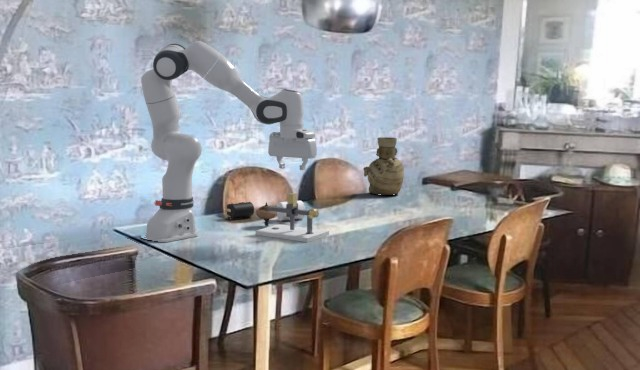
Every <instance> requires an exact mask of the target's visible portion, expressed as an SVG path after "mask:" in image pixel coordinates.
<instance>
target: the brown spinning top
mask: <svg viewBox="0 0 640 370" xmlns="http://www.w3.org/2000/svg"><path fill="white" fill-rule="evenodd" d="M269 206H270V205H268V202H265V205H262V206H261V207H259V208H257V209H255V210H256V211H255V214H256V216H257V217H258V218H259V219H262V220H264V226H265V227H270V226H269V225H270V224H269V221H270V220H271V219H274V218H275V217H276V216H277V212H275V211H268V207H269Z"/></svg>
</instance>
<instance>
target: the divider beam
mask: <svg viewBox="0 0 640 370" xmlns="http://www.w3.org/2000/svg"><path fill="white" fill-rule="evenodd" d="M268 206H269V207H268V211H275V212H276V213H277V212H283V213H286V208H283V207H277V206H274V205H268ZM293 214H299V215H304V216H306V228H307V233H312V229H313V219H316V218H318V217H319V215H320V212H319V210H318V209H317V208H310V209H309V210H307V209H305V210H300V209H293Z"/></svg>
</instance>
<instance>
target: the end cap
mask: <svg viewBox="0 0 640 370" xmlns="http://www.w3.org/2000/svg"><path fill="white" fill-rule="evenodd" d="M226 209H228V210H230V211H226V215H227V219H228V218H231V219H230V220H232V219H233V220H240V219H246V218H247V219H248V218H251V217H252V216H253V215H254V213H255V206H254V204H253V202H251V201H246V202H244V201H242V202H238V203H228V204H227V205H226ZM239 218H240V219H239Z"/></svg>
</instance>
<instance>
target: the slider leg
mask: <svg viewBox="0 0 640 370" xmlns="http://www.w3.org/2000/svg"><path fill="white" fill-rule="evenodd" d="M286 195H287V201H286V202H287V204H286V217H290V220H289V226H290V230H294V226H295V220H294V217H295V216H298V214H293V209H298V203H297V201H298V194H297V193H295V192H290V193H287V194H286Z"/></svg>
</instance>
